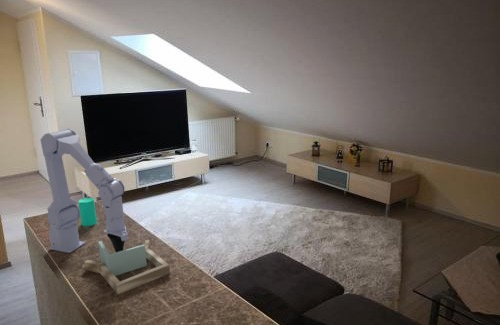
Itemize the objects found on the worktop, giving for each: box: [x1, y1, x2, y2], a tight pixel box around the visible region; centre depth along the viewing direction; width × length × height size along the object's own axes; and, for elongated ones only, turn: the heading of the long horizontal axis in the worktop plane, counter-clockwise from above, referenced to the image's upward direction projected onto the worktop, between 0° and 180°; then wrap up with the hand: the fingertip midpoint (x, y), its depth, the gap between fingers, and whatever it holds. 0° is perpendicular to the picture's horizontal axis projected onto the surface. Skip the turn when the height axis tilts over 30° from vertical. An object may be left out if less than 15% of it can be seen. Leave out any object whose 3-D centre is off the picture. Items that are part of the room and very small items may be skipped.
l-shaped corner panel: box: [97, 240, 148, 277], centre depth 126 cm, size 12×12×8 cm
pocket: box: [84, 239, 171, 295], centre depth 123 cm, size 21×23×3 cm
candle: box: [78, 197, 98, 227], centre depth 158 cm, size 6×6×12 cm
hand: (119, 252), depth 130 cm, fingers closed
